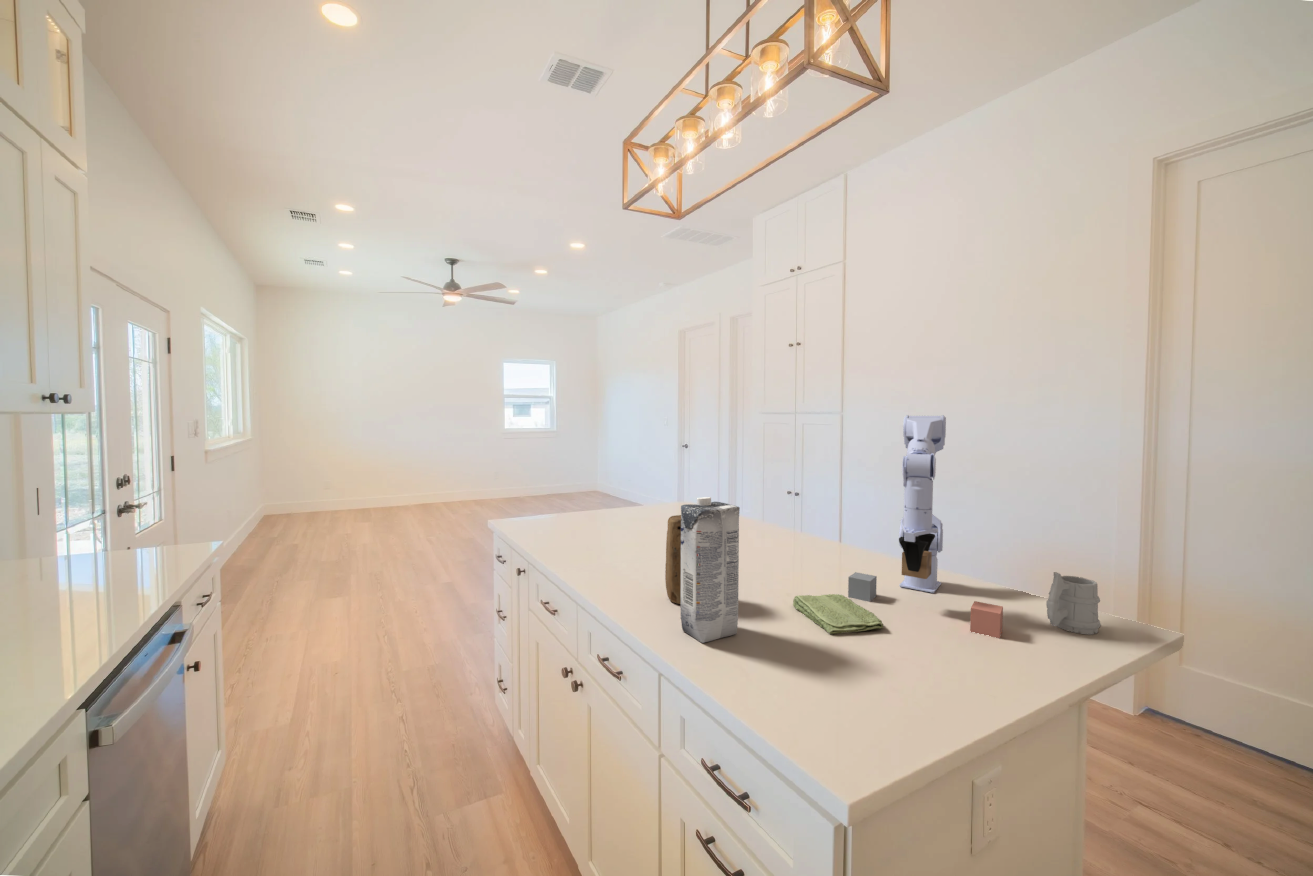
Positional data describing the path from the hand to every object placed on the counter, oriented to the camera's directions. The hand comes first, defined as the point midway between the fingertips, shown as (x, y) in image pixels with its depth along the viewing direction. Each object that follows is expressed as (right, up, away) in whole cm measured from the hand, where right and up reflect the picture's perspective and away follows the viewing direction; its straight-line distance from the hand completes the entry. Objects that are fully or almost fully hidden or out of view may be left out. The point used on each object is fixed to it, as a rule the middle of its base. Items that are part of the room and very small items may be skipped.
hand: (916, 567), depth 118 cm
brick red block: (+8, -10, -11) cm, 17 cm away
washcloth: (-20, -10, -4) cm, 23 cm away
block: (-50, -9, +6) cm, 52 cm away
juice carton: (-48, -10, -13) cm, 50 cm away
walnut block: (0, -2, 0) cm, 2 cm away
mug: (+26, -10, -10) cm, 30 cm away
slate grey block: (-9, -9, +9) cm, 15 cm away
